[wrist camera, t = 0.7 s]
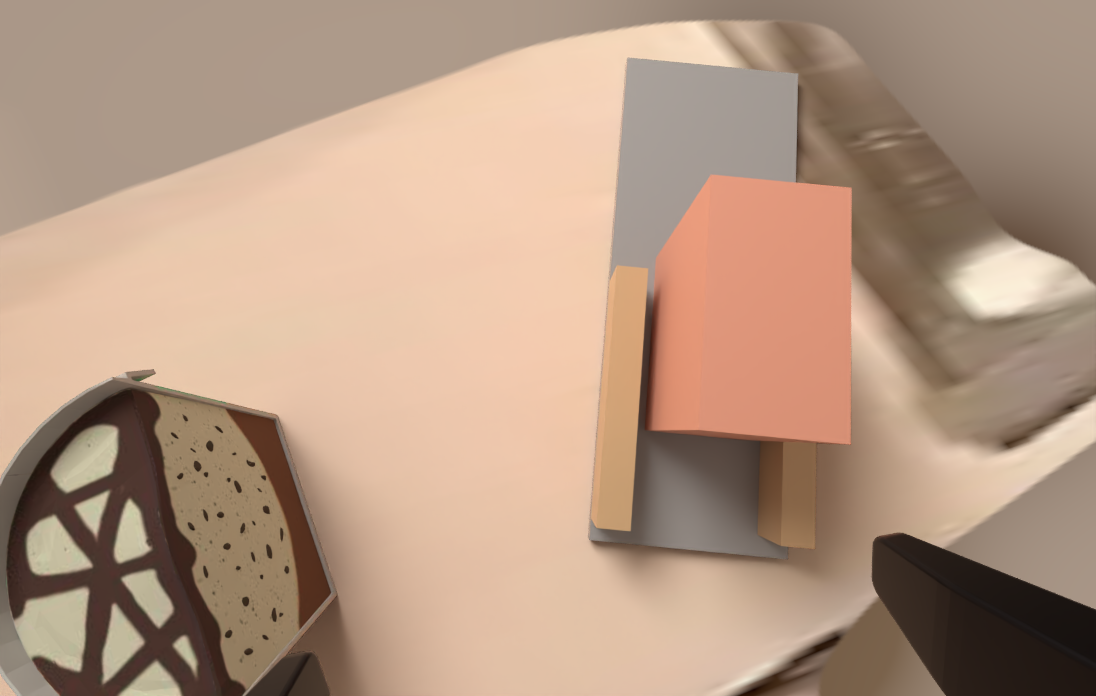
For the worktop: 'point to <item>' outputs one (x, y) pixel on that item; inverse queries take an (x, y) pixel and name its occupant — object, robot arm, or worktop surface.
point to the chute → (638, 236)
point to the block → (754, 315)
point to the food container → (154, 548)
